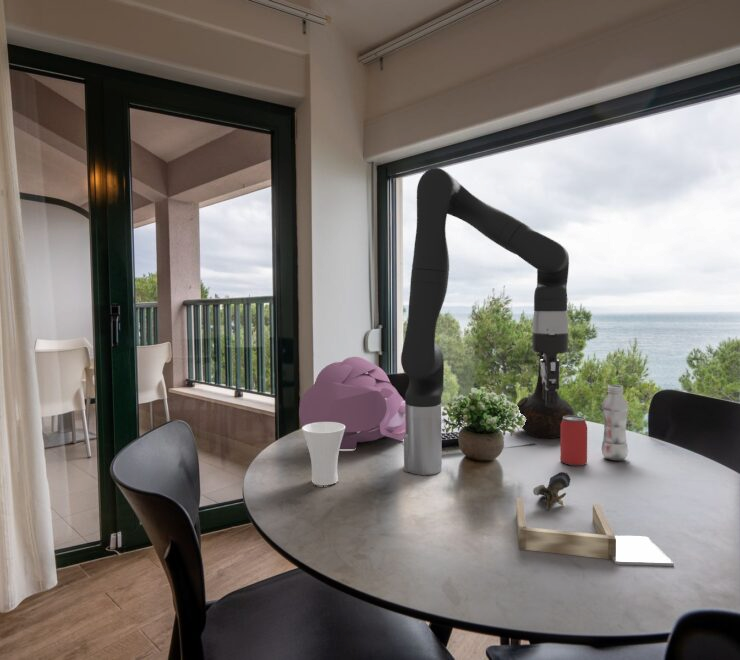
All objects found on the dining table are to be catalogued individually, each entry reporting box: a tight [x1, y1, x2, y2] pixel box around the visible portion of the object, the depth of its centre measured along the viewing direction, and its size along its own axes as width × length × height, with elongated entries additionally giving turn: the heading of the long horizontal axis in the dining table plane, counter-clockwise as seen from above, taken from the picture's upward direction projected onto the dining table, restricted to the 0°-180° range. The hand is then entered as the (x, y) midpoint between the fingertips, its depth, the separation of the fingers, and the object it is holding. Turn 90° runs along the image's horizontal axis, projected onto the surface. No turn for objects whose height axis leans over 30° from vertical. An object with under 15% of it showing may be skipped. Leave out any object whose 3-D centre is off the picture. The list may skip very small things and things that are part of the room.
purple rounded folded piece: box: [298, 356, 406, 449], centre depth 151 cm, size 35×24×28 cm
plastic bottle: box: [601, 384, 629, 462], centre depth 131 cm, size 6×7×20 cm
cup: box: [301, 422, 345, 485], centre depth 118 cm, size 10×10×14 cm
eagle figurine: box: [532, 471, 571, 512], centre depth 103 cm, size 8×7×9 cm
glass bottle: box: [516, 353, 576, 439], centre depth 156 cm, size 18×18×28 cm
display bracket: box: [515, 497, 616, 560], centre depth 90 cm, size 15×14×4 cm
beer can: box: [559, 415, 588, 467], centre depth 129 cm, size 7×7×12 cm
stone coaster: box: [611, 535, 675, 567], centre depth 84 cm, size 9×9×1 cm
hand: (549, 403), depth 111 cm, fingers open, 7 cm apart
